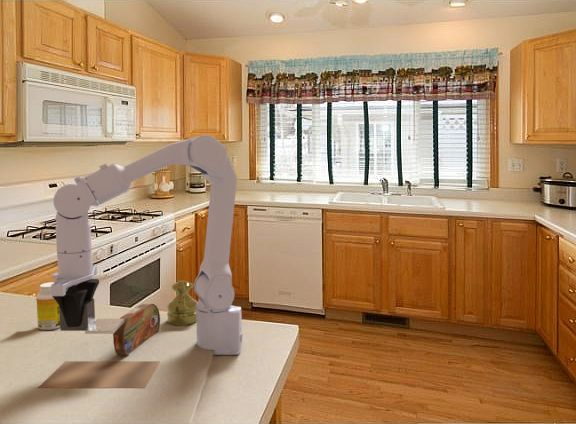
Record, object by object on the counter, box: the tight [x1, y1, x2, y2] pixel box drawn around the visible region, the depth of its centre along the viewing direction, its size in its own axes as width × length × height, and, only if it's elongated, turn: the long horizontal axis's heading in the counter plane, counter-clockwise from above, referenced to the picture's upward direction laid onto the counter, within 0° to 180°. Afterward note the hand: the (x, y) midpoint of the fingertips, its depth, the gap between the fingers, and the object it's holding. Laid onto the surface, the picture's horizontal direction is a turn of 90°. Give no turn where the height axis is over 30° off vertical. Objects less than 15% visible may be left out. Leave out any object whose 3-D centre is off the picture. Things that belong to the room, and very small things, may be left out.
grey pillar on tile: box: [59, 298, 124, 335], centre depth 84 cm, size 10×6×5 cm, turn 91°
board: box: [37, 360, 161, 389], centre depth 82 cm, size 18×10×1 cm, turn 91°
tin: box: [112, 303, 161, 357], centre depth 95 cm, size 15×3×8 cm, turn 168°
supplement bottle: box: [35, 281, 60, 331], centre depth 107 cm, size 6×6×10 cm
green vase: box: [166, 279, 198, 326], centre depth 111 cm, size 7×7×10 cm
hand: (78, 322), depth 84 cm, fingers closed on grey pillar on tile, 3 cm apart
